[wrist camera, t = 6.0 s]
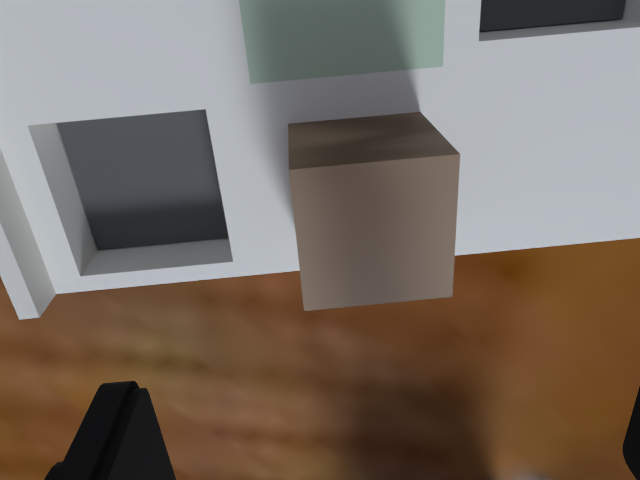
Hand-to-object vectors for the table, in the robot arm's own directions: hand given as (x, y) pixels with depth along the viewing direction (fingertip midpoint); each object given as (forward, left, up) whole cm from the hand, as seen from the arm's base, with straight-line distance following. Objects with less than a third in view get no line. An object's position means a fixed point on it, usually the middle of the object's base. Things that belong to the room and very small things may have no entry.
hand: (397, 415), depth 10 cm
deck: (-2, -4, -15) cm, 15 cm away
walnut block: (-1, 0, -12) cm, 12 cm away
